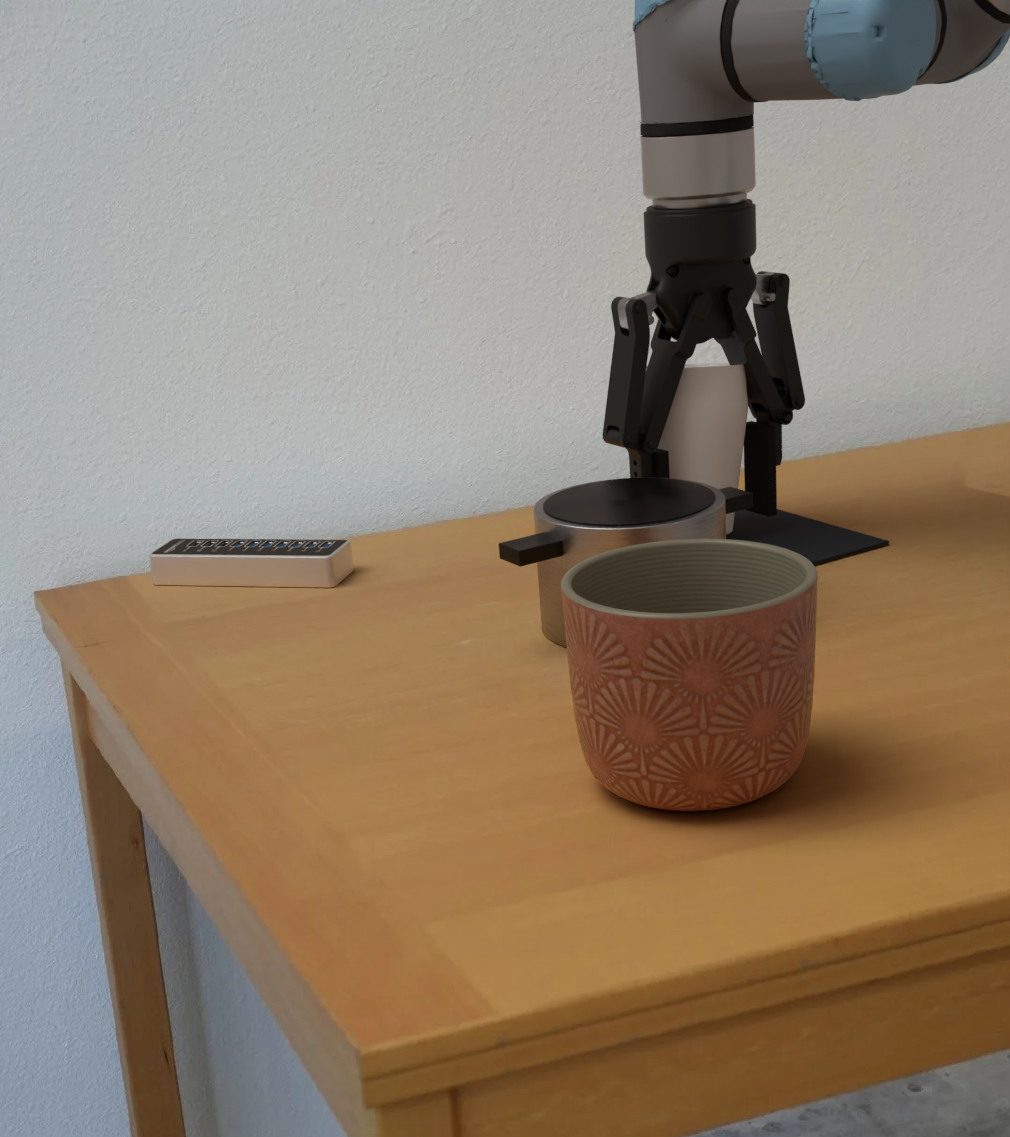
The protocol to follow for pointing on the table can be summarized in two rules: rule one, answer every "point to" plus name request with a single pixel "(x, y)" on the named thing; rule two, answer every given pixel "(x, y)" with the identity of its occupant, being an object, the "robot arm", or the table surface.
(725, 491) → the steel pot
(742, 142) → the robot arm
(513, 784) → the table surface
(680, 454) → the cup
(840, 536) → the mat
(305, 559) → the multiport hub
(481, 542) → the table surface
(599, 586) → the planter
